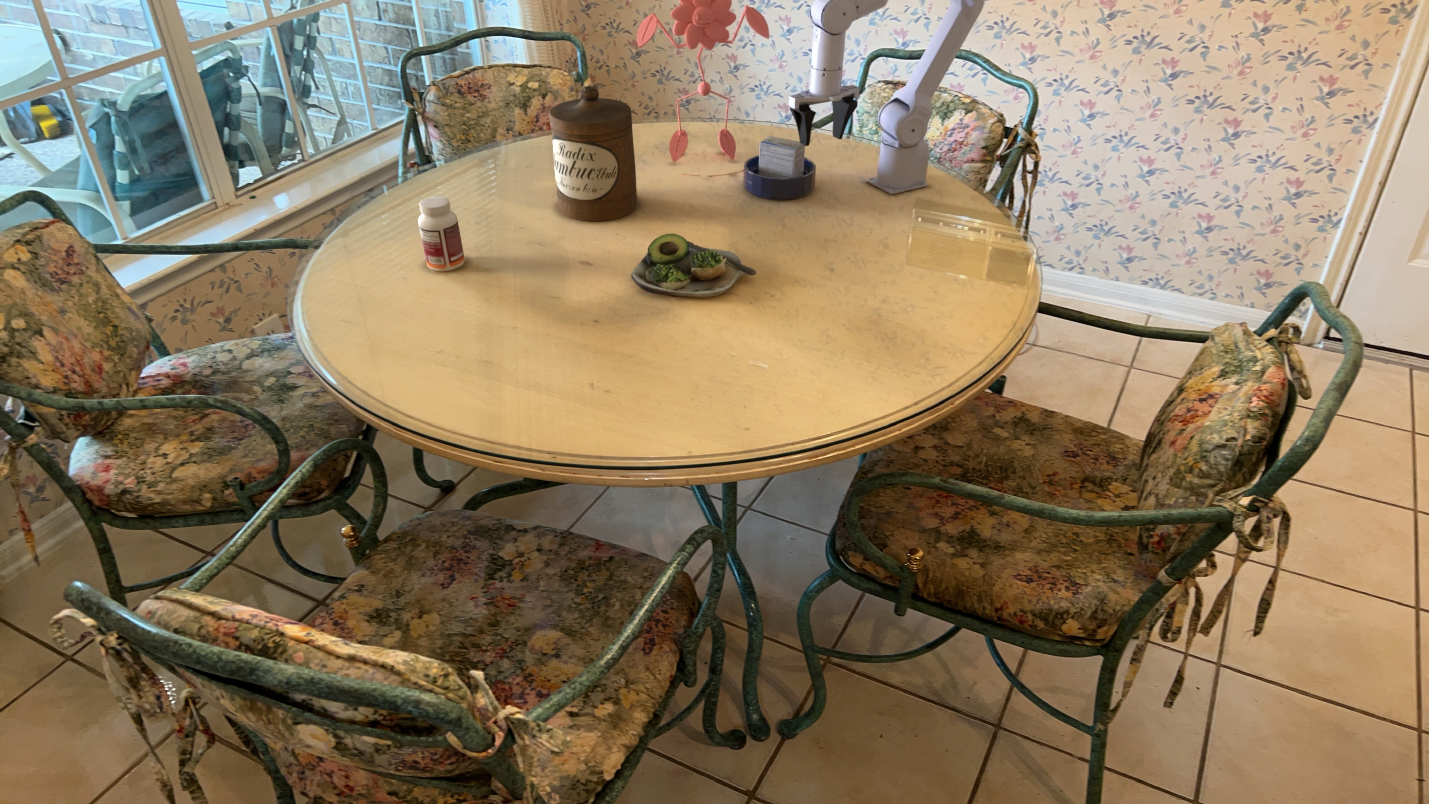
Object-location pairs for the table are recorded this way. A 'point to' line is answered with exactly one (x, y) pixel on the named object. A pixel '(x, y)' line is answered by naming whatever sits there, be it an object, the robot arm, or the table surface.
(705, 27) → the figurine
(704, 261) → the salad plate
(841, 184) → the table surface
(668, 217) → the table surface
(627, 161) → the wooden container
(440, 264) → the pill bottle
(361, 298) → the table surface
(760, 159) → the medicine box
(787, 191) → the bowl
